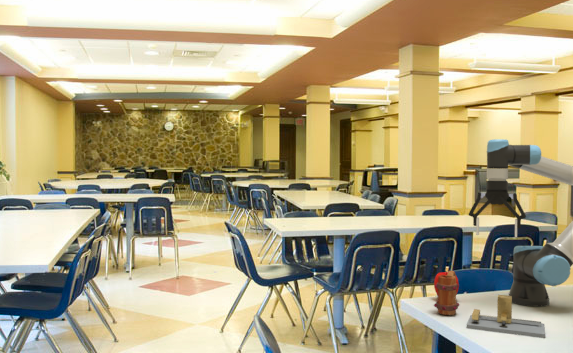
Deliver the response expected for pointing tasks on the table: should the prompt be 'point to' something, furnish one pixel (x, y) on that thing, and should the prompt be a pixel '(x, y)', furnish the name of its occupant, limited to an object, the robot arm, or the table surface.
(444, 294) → the mug
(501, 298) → the block
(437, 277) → the apple
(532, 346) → the table surface
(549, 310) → the table surface
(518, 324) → the flange plate
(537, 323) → the beam
